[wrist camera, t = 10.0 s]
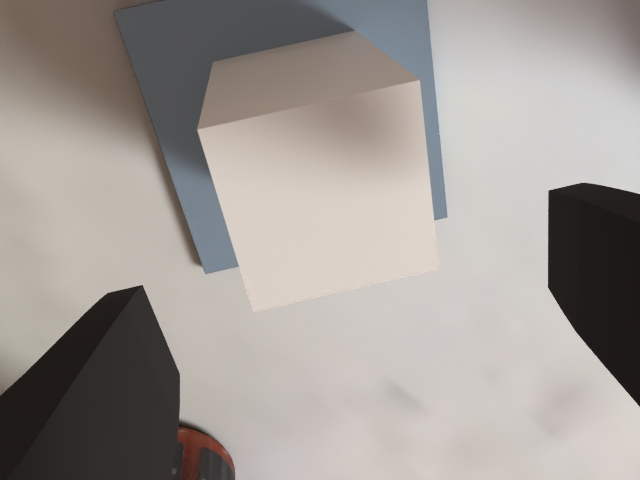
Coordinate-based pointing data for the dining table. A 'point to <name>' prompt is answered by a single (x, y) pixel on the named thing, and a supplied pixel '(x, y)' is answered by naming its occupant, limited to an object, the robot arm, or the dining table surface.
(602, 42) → the dining table surface
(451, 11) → the dining table surface
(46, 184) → the dining table surface
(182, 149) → the mat
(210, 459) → the supplement bottle
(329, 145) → the plug
